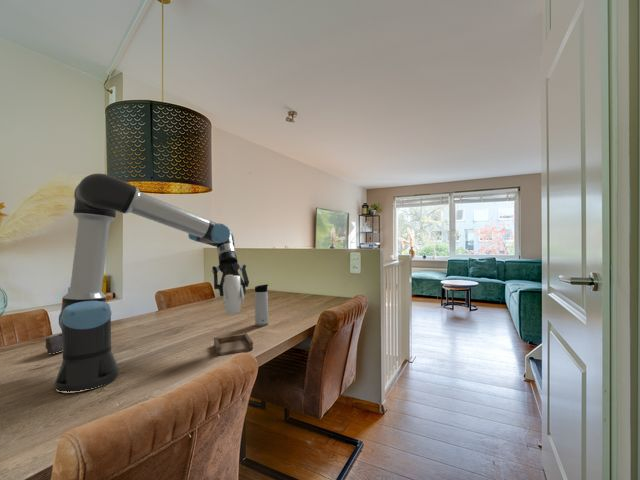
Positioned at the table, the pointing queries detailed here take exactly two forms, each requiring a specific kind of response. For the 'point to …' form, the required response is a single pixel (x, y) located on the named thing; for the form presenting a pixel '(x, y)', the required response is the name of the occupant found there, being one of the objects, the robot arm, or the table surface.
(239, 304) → the paper roll
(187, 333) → the table surface
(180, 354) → the table surface
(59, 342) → the perforated stone tool
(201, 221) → the robot arm
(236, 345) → the tray
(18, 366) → the table surface
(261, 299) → the travel mug
